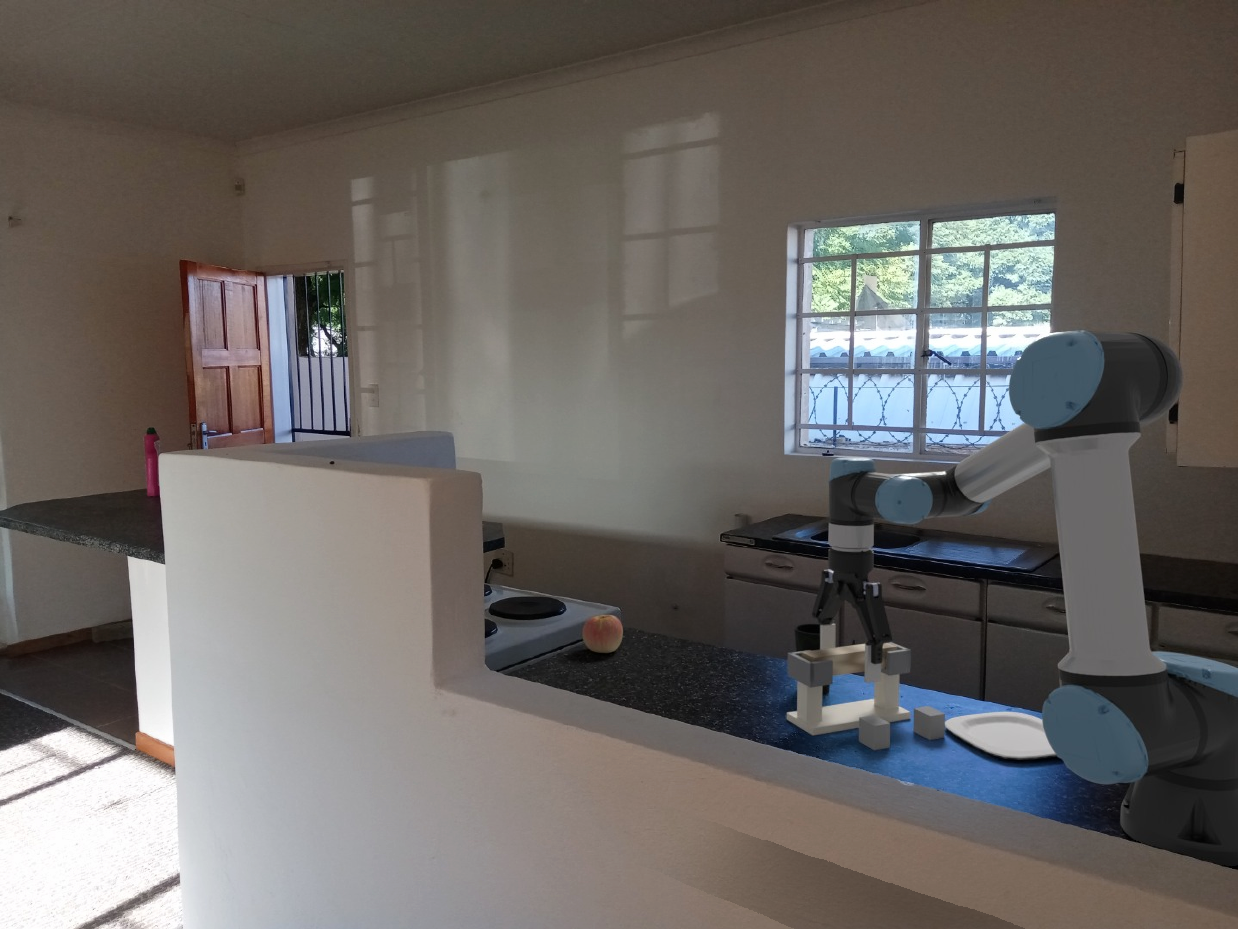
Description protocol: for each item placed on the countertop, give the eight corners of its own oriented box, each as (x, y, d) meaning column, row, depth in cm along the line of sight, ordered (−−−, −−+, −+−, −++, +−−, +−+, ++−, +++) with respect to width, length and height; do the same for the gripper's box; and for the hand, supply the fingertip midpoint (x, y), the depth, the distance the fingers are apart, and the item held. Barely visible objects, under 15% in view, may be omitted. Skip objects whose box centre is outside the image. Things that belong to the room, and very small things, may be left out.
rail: (883, 661, 161) (883, 641, 161) (896, 666, 158) (896, 646, 157) (801, 672, 155) (801, 652, 154) (813, 678, 151) (813, 657, 151)
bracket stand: (911, 718, 157) (913, 651, 156) (811, 735, 149) (812, 665, 148) (882, 703, 164) (883, 639, 163) (785, 719, 157) (785, 652, 156)
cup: (835, 698, 167) (836, 635, 166) (793, 696, 169) (794, 633, 168) (834, 685, 175) (834, 624, 174) (794, 682, 176) (794, 622, 176)
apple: (617, 658, 194) (617, 621, 193) (578, 655, 196) (577, 619, 195) (627, 647, 202) (626, 611, 201) (588, 644, 204) (588, 609, 203)
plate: (1002, 771, 136) (1002, 760, 136) (930, 728, 154) (931, 718, 154) (1100, 757, 141) (1101, 747, 141) (1020, 717, 158) (1021, 708, 158)
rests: (944, 737, 148) (945, 713, 148) (874, 750, 143) (874, 726, 143) (927, 729, 152) (928, 706, 152) (858, 741, 147) (859, 717, 147)
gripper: (916, 558, 145) (914, 689, 146) (828, 535, 167) (826, 649, 169) (878, 561, 142) (875, 695, 144) (793, 538, 164) (792, 654, 166)
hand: (849, 670), depth 156 cm, fingers open, 12 cm apart
